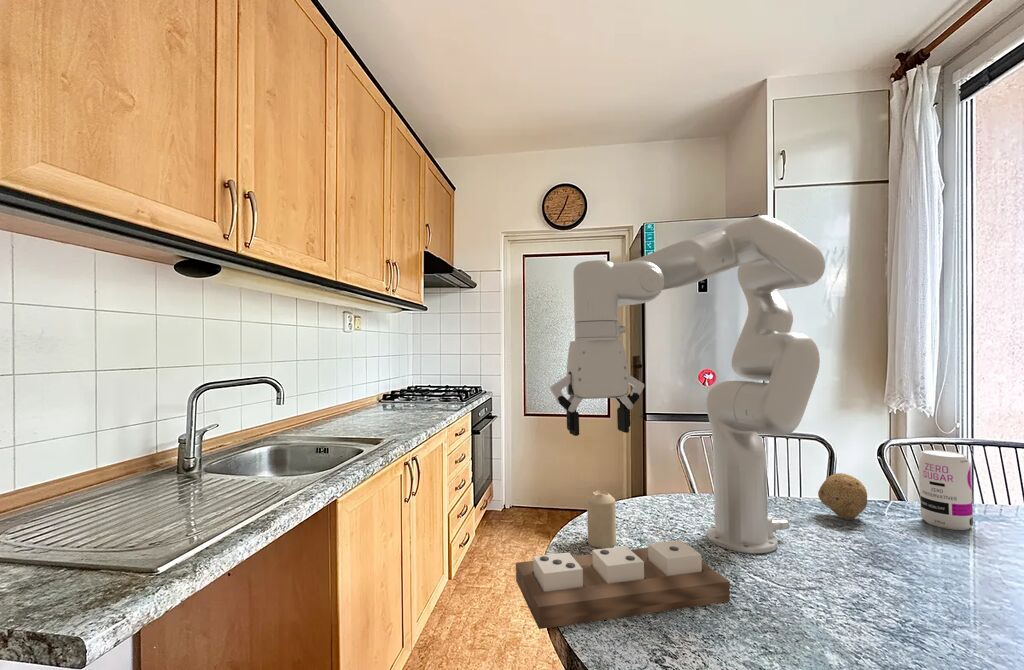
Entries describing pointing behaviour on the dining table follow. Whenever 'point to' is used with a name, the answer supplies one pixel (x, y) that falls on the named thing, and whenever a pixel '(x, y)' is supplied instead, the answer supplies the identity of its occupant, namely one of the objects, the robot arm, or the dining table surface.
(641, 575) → the tile two
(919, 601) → the dining table surface
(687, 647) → the dining table surface
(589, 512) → the candle
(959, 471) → the supplement can
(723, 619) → the dining table surface
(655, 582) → the panel
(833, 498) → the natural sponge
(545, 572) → the tile three
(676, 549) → the tile one
